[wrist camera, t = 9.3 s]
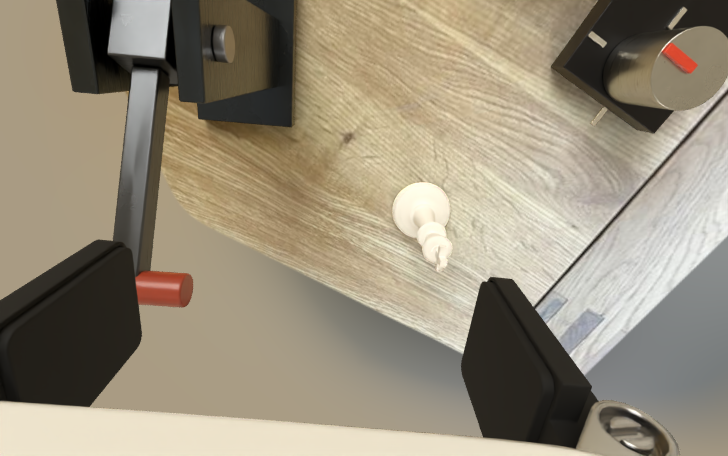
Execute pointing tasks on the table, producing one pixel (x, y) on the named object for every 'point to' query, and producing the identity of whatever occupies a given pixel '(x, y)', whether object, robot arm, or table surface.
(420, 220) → the chess piece
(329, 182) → the table surface
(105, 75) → the lever bracket
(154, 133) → the lever
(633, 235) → the table surface
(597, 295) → the table surface
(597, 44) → the dial panel
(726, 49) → the knob
